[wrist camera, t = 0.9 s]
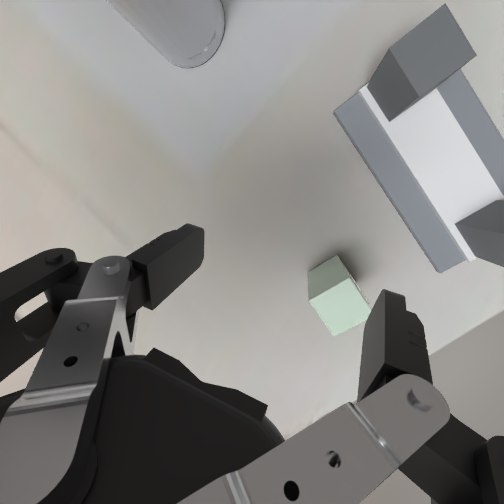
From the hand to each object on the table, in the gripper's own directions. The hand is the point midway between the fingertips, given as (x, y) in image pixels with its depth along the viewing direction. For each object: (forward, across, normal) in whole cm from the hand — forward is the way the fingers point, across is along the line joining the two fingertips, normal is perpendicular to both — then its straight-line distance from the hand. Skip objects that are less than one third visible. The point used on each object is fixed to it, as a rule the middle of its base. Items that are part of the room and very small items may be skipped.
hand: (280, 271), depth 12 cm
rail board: (+28, -9, -1) cm, 30 cm away
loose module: (+22, -3, +14) cm, 26 cm away
